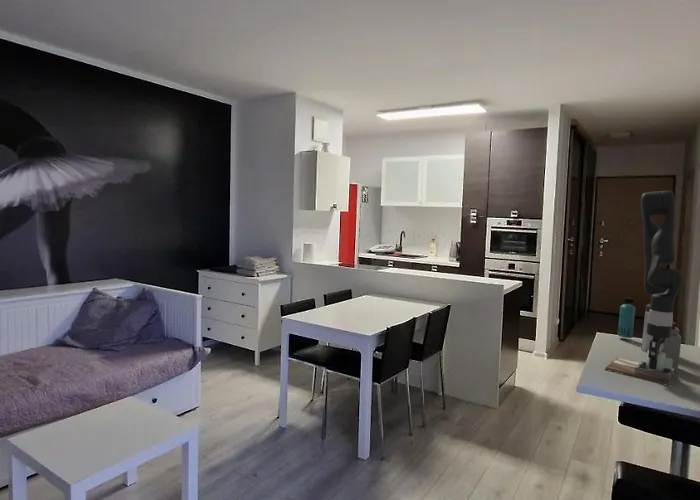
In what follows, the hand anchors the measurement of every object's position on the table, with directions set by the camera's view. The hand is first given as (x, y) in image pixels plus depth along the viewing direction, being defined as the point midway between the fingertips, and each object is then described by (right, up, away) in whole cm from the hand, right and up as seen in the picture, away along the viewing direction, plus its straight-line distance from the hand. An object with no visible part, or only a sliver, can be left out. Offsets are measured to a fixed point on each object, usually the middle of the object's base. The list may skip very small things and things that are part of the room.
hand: (654, 366), depth 173 cm
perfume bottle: (+11, -3, +11) cm, 16 cm away
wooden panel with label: (-2, -3, +5) cm, 6 cm away
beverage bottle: (+18, 0, +51) cm, 54 cm away
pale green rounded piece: (+1, -3, 0) cm, 3 cm away
